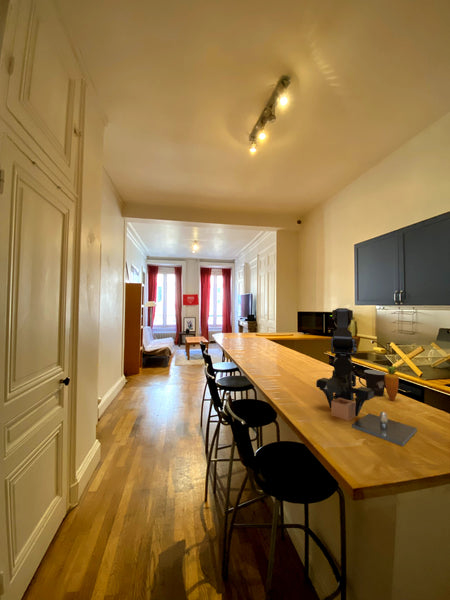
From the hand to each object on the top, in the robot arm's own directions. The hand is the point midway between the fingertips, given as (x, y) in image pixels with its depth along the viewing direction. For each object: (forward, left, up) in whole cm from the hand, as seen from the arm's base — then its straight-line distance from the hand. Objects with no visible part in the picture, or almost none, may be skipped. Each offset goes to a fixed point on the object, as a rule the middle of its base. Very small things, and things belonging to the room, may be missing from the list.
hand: (343, 411), depth 89 cm
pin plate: (+13, 0, -1) cm, 13 cm away
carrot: (+6, +31, -2) cm, 32 cm away
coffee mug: (-3, +34, -2) cm, 34 cm away
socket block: (0, 0, -1) cm, 1 cm away
